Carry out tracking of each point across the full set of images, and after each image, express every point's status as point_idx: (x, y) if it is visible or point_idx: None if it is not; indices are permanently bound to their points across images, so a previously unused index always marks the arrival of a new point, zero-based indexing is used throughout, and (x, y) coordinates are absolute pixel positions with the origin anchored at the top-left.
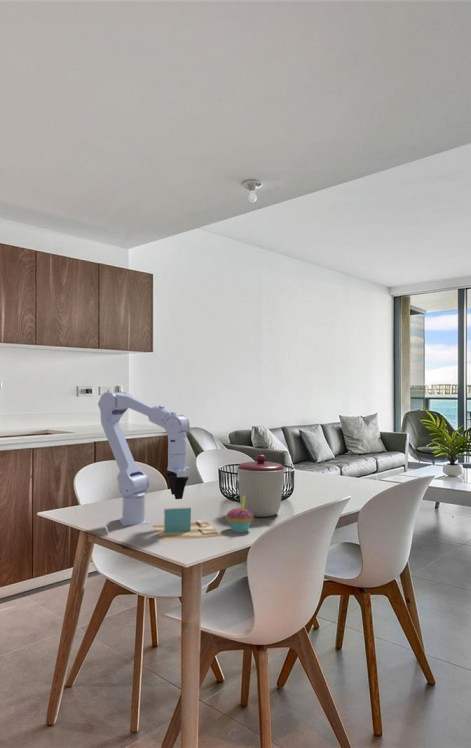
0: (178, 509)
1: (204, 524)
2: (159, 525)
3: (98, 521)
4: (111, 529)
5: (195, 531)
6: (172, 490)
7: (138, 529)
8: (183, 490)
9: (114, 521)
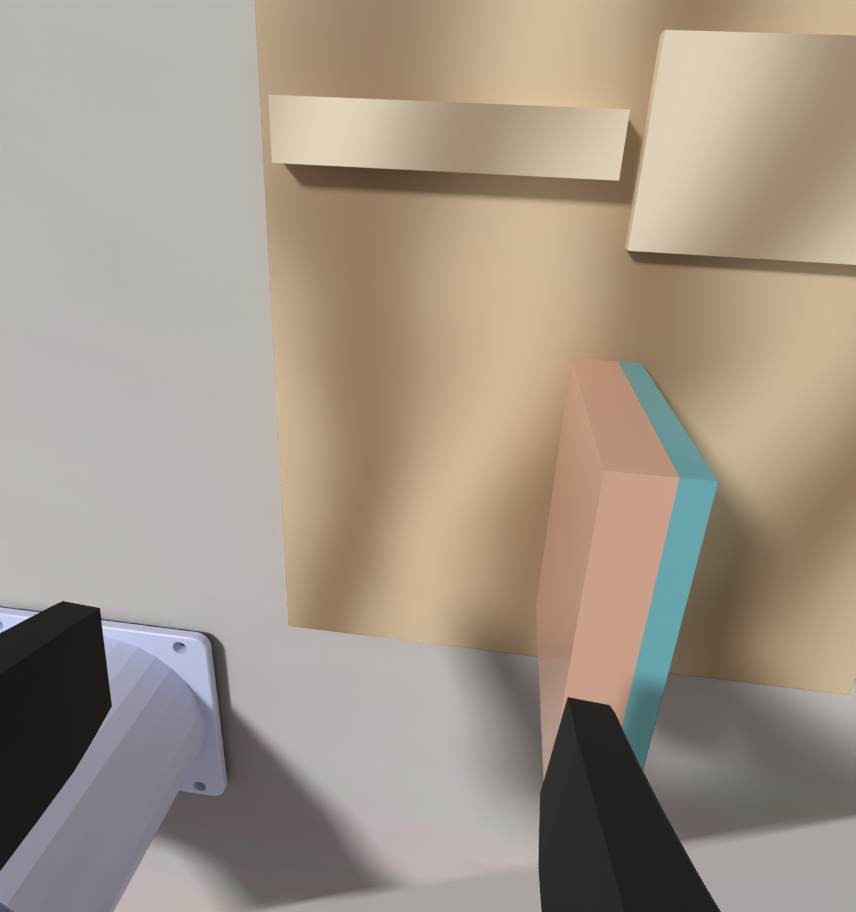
0: (668, 662)
1: (539, 121)
2: (303, 574)
3: None
4: (282, 851)
5: (695, 316)
6: (54, 769)
7: (335, 720)
8: (707, 893)
9: None
